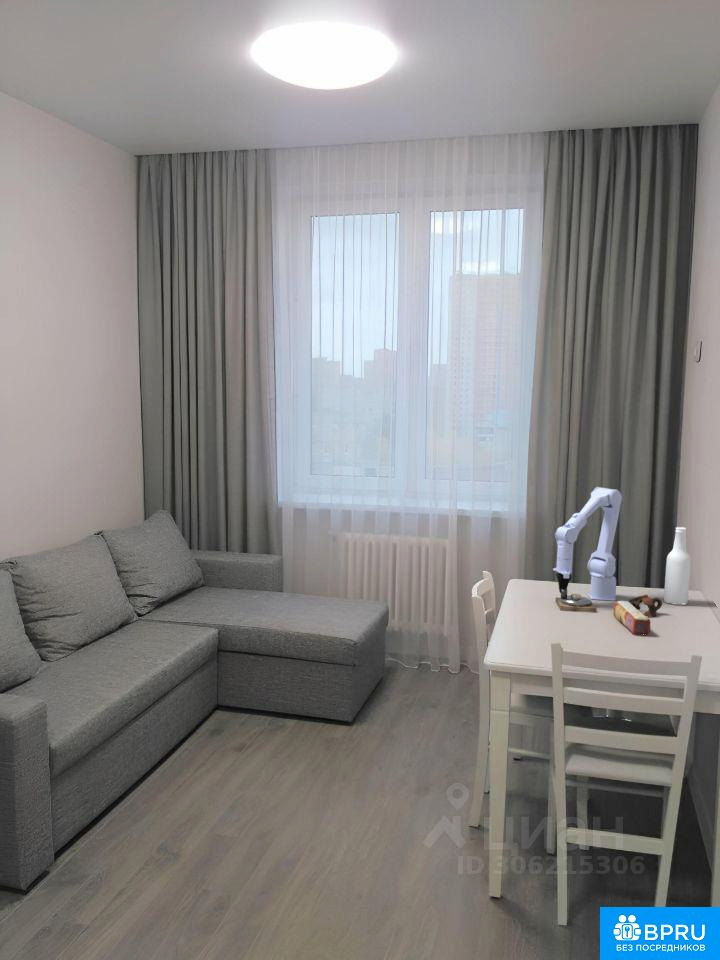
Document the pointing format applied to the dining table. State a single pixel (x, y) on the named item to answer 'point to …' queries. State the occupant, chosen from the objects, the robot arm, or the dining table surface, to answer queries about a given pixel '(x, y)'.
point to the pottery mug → (648, 602)
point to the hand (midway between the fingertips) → (562, 592)
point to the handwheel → (574, 599)
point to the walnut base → (575, 607)
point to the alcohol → (677, 570)
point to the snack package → (631, 618)
